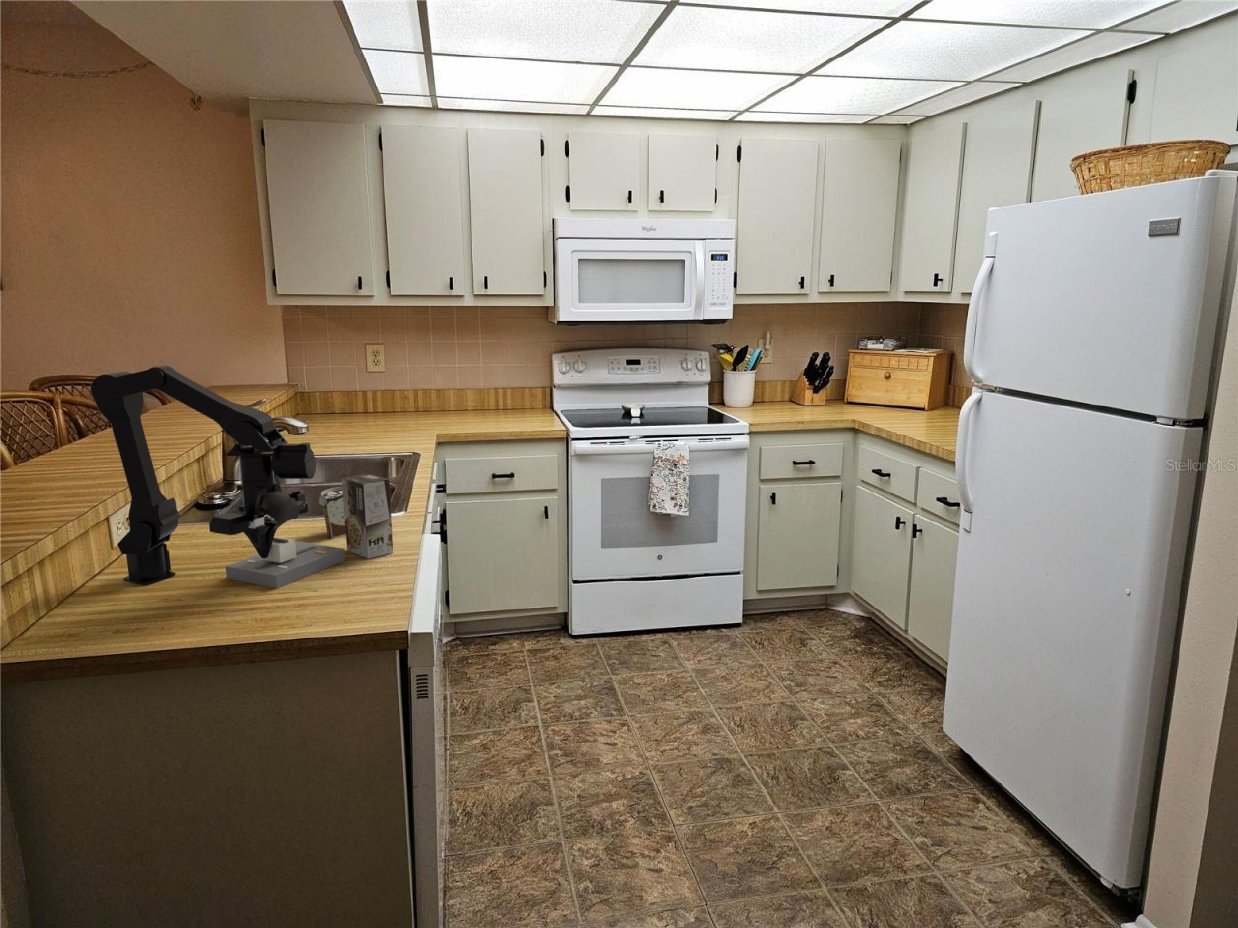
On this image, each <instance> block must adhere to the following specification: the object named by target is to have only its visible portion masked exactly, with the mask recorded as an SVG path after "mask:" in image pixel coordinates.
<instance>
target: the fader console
mask: <svg viewBox="0 0 1238 928" xmlns="http://www.w3.org/2000/svg"><path fill="white" fill-rule="evenodd" d="M295 545H296V557H295V558H292V559H290V560H287V561H284V562H282V563H279V562H273V561H268V560H262V559H261V557H260V555H259V554H255V555H254V556H251V557H248V558H245V559H241V560H239V561H236V562H234V563H230V564H228V565H225V575H226V580H232V581H236V582H237V581H238V582H242V583H248V584H252V585H259V586H263V587H268V588H273V589H279V588H282V587H285V586H286V585H288V584H291V583H293V582H296V581H298V580H301V579H304V578H306V577H309V576H311V575H313V574H316V573H318V572H320V571H323V570H325V569H329V568H330V567H332V566H336V565H337V564H339V563H343V562H345V561H346V556H345V555H346V554H345V548H340V547H335V546H331V545H325V544H324V545H322V544H316V543H312V542H311V543H310V542H306V541H305V542H304V541H300V540H295Z"/></svg>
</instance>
